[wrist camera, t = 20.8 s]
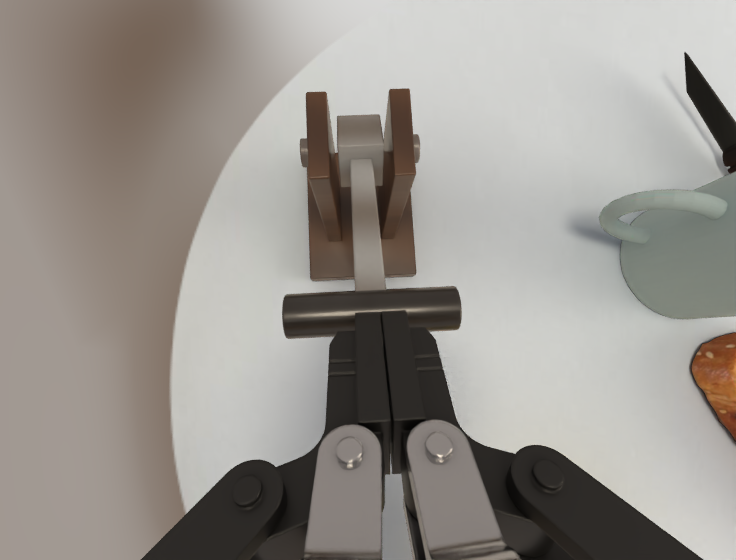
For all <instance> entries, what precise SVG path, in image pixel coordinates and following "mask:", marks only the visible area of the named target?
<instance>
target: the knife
mask: <svg viewBox="0 0 736 560" xmlns="http://www.w3.org/2000/svg"><path fill="white" fill-rule="evenodd" d="M684 55H685V72H686V88H687V93H688V95H689V97H690V98H691V100H692V102H693V103H694V105H695V107H696V108H697V110H698V112H699V113H700V115H701V117H702V118H703V120H704V122H705V123H706V125H707V127H708V128H709V130H710V132H711V133H712V135H713V137H714V138H715V140H716V142H717V143H718V145H719V146H720V148H721V150H722V151H723V162H724V164H725V166H726V167H728V166H730V168H729V169H728V172H729V173H730V174H731V173H734V172H736V122H735V120H734V119H733V117H732V116H731V115H730V113H729V112H728V110H727V109H726V108H725V106H724V105H723V103H722V102H721V101H720V99H719V98H718V96H717V95H716V94H715V92H714V91H713V89H712V88H711V87H710V85H709V84H708V82H707V81H706V80H705V78H704V77H703V75H702V74H701V72H700V71H699V70H698V68H697V67H696V65H695V64H694V63H693V61H692V60H691V58H690V57H689V56H688V54H687V53H685V52H684Z"/></svg>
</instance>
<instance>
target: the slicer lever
mask: <svg viewBox="0 0 736 560" xmlns="http://www.w3.org/2000/svg"><path fill="white" fill-rule="evenodd" d="M337 148H338V161H339V173H340V186H341V187H351V202H352V226H353V250H354V274H355V291H343V292H323V293H302V294H287V295H285V297H284V300H283V308H282V319H283V329H284V333H285V336H286V338H288V339H296V338H315V337H334V336H335V335H336V333H337V331H355V313H359V312H379V314H380V323H381V311H397V310H406V312H407V317H408V323H409V328H413V327H425V328H426V329H427V330H428V331H429V332H431V331H450V330H458V329H459V327H460V324H461V317H462V310H461V300H460V296H459V292H458V290H457V288H456V287H454V286H446V287H426V288H405V289H386V285H385V275H384V265H383V256H382V246H381V237H380V227H379V218H378V208H377V198H376V189H375V186H382V185H383V163H384V141H383V134H382V127H381V120H380V115H379V114H378V115H351V116H337Z"/></svg>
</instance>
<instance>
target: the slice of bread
mask: <svg viewBox="0 0 736 560" xmlns="http://www.w3.org/2000/svg"><path fill="white" fill-rule="evenodd" d="M692 373H693V376H694V378H695V381H696V383H697V385H698V386H699V387H700V388H701V389H702V390H703V391H704V393H705V395H706V397H707V399H708V401H709V403H710V404H711V406H712V407H713V408H714V410H715V412H716V413H717V416H718V419H719V421H720V422H721V423H722V424H723V425H724V426H725V427H726V428H727V429H728V430H729V431H730V433H731V434H732V436H733V438H734V440H735V441H736V333H731V334H728V335H723V336H720V337H717V338H715V339H713V340H712V341H710V342H708V343H703V344H702V346H701V348H700V350H699V351H698V352H697V354H696V356H695V358H694V361H693V364H692Z"/></svg>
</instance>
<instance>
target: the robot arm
mask: <svg viewBox="0 0 736 560" xmlns="http://www.w3.org/2000/svg"><path fill="white" fill-rule="evenodd" d="M390 453H391V464H392V474H400V473H401V475H402V483H403V492H404V499H403V507H404V513H405V519H406V524H407V530H408V535H409V541H410V546H411V552H412V557H413V560H703V559H702V558H700V557H699V556H698V555H696V554H695V553H694V552H692V551H691V550H690V549H688V548H687V547H686V546H684V545H683V544H682V543H680V542H679V541H678V540H676V539H675V538H674V537H672V536H671V535H670V534H668V533H667V532H666V531H664V530H663V529H662V528H660V527H659V526H657V525H656V524H655V523H653V522H652V521H651V520H649V519H648V518H647V517H645V516H644V515H643V514H641V513H640V512H639V511H637V510H636V509H635V508H633V507H632V506H631V505H629V504H628V503H627V502H625V501H624V500H623V499H621V498H620V497H619V496H617V495H616V494H615V493H613V492H612V491H611V490H609V489H608V488H607V487H605V486H604V485H603V484H601V483H600V482H599V481H597V480H596V479H595V478H593V477H592V476H591V475H589V474H588V473H587V472H585V471H584V470H583V469H581V468H580V467H578V466H577V465H576V464H574V463H573V462H572V461H570V460H569V459H568V458H566V457H565V456H564V455H562V454H561V453H559V452H558V451H556V450H554V449H551V448H549V447H546V446H541V445H530V446H526V447H524V448H522V449H520V450H519V451H518V452H517V453H516V454H513V453H509V452H506V451H502V450H498V449H494V448H490V447H487V446H484V445H482V444H480V443H478V442H476V441H474V440H473V439H471V438H470V437H469V436H468V435H467V434H466V433H465V432H464V431H463V430H462V428H461V427H460V426H459V424H458V422H457V419H456V416H455V413H454V409H453V405H452V401H451V397H450V394H449V390H448V386H447V382H446V378H445V374H444V370H443V367H442V363H441V359H440V357H439V351H438V347H437V344H436V340H435V338H434V337H433V336H432V335H431V334H430V332H429V331H428V330H427V329H426V328H425V327H413V328H409V323H408V317H407V312H406V310H397V311H381V323H380V314H379V312H359V313H355V331H337V333H336V335H335V337H334V338H333V340H332V342H331V343H330V347H329V367H328V388H327V408H326V425H325V430H324V434H323V436H322V438H321V440H320V441H319V443H318V444H317V445H316V446H315V447H314V449H312V450H311V451H310V452H309V453H307V454H306V455H304V456H302V457H300V458H298V459H296V460H293V461H291V462H288V463H285V464H283V465H280V466H278V467H275V466H274V465H273V464H271V463H269V462H267V461H264V460H250V461H246V462H243V463H241V464H239V465H237V466H235V467H234V468H232V469H231V470H230V471H229V472H228V473H227V474H226V475H225V476H224V477H223V478H222V479H221V480H220V481H219V482H218V483H217V484H216V485H215V486H214V487H213V488H212V489H211V490H210V491H209V492H208V493H207V494H206V495H205V496H204V497H203V498H202V499H201V500H200V501H199V502H198V503H197V504H196V505H195V506H194V507H193V508H192V509H191V510H190V511H189V512H188V513H187V514H186V515H185V516H184V517H183V518H182V519H181V520H180V521H179V522H178V523H177V524H176V525H175V526H174V527H173V528H172V529H171V530H170V531H169V532H168V533H167V534H166V535H165V536H164V537H163V538H162V539H161V540H160V541H159V542H158V543H157V544H156V545H155V546H154V547H153V548H152V549H151V550H150V551H149V552H148V553H147V554H146V555H145V556H144V557H143V558H142V559H141V560H382V512H383V509H384V504H385V475H386V474H390Z"/></svg>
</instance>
